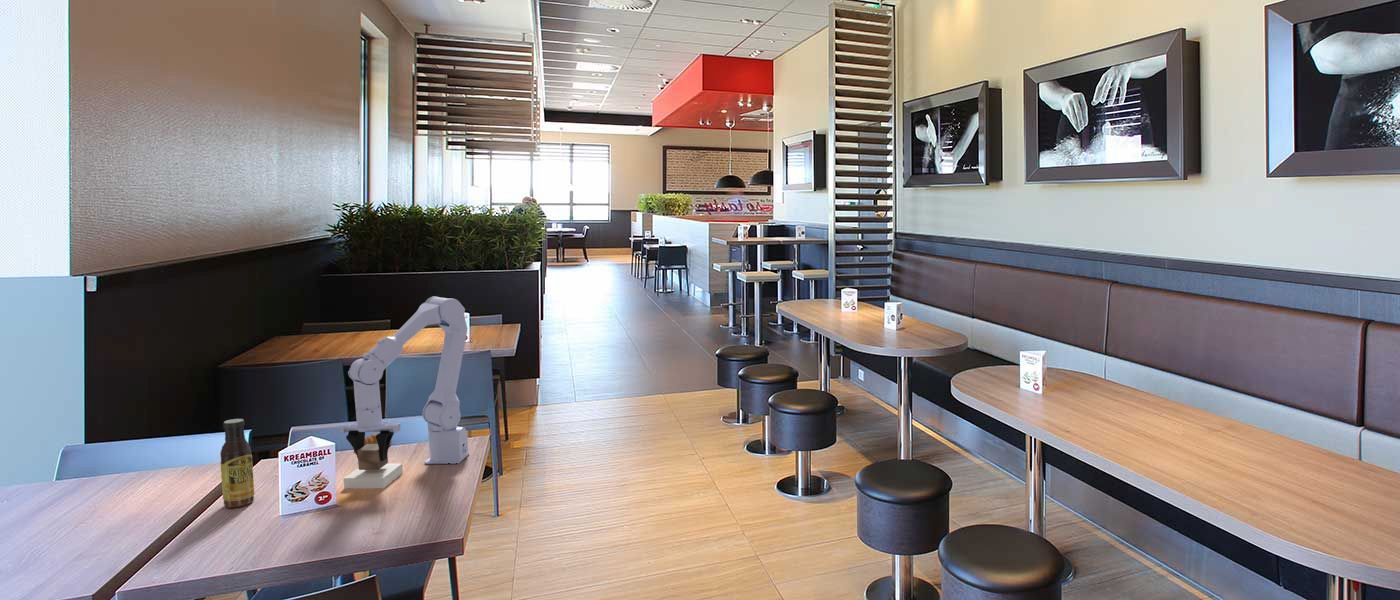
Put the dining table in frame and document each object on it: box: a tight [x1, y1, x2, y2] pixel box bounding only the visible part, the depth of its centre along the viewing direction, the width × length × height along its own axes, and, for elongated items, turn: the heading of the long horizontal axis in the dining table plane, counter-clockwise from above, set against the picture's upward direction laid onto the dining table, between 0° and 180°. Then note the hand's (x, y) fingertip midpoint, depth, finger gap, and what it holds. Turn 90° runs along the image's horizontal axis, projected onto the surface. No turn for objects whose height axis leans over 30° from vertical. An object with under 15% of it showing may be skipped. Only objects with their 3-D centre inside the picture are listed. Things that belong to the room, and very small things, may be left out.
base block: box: [343, 463, 404, 489], centre depth 180 cm, size 10×10×3 cm
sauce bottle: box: [220, 418, 255, 509], centre depth 166 cm, size 6×6×20 cm
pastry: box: [364, 432, 392, 447], centre depth 207 cm, size 9×7×4 cm
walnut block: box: [357, 444, 389, 470], centre depth 180 cm, size 5×5×5 cm
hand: (372, 459), depth 180 cm, fingers closed on walnut block, 5 cm apart
